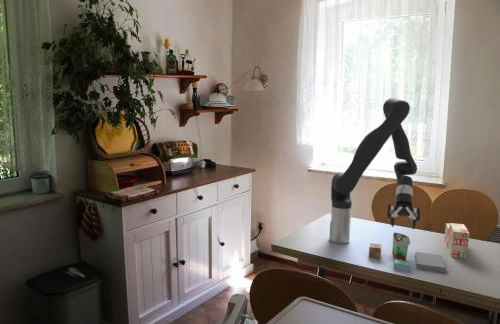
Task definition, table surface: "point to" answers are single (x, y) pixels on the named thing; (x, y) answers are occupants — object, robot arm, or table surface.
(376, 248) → the walnut block
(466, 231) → the stack of blocks
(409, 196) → the robot arm
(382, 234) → the table surface
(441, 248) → the table surface
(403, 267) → the teal block
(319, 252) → the table surface
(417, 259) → the slate board
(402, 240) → the food container
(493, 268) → the table surface
